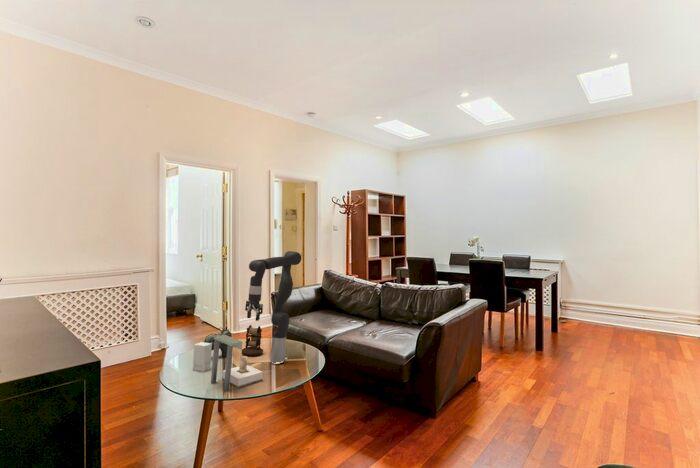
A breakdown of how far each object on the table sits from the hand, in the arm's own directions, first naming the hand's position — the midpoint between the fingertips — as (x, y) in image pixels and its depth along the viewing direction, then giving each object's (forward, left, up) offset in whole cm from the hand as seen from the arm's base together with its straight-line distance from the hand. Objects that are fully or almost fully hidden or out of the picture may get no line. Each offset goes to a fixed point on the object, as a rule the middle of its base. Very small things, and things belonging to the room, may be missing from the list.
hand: (253, 319), depth 211 cm
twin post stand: (+22, +8, -32) cm, 39 cm away
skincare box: (+19, -21, -32) cm, 43 cm away
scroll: (-22, -27, -32) cm, 48 cm away
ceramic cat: (+2, -34, -32) cm, 47 cm away
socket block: (+10, +8, -32) cm, 34 cm away
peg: (+10, +8, -31) cm, 34 cm away
